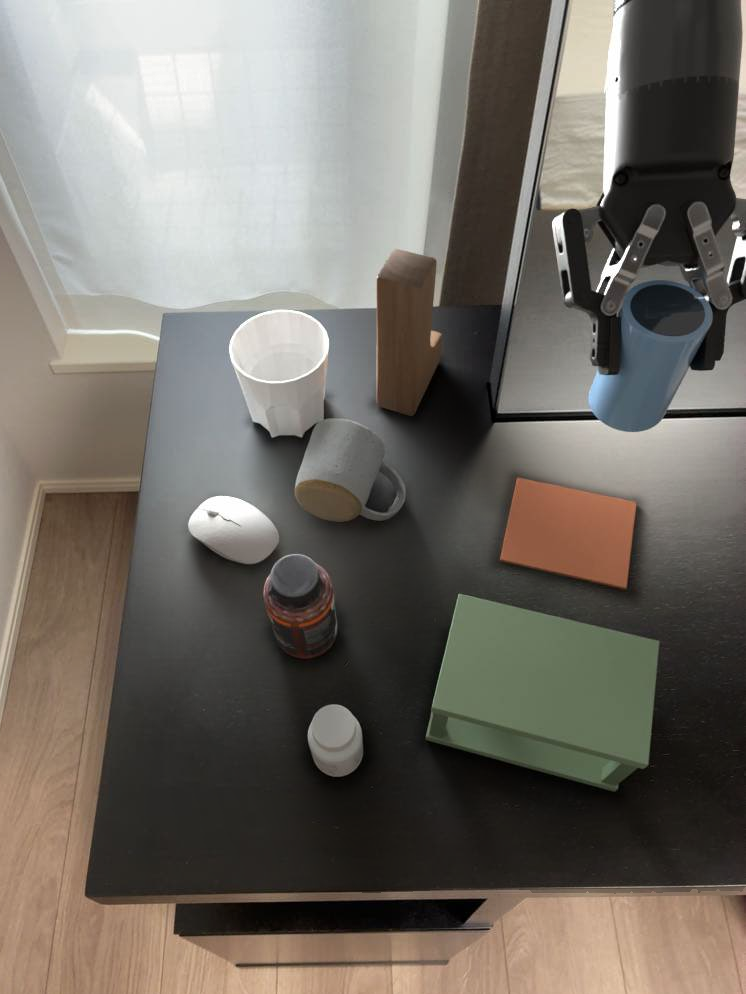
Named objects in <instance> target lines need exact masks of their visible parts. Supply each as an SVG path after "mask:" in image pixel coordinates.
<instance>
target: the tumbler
mask: <svg viewBox="0 0 746 994" xmlns="http://www.w3.org/2000/svg"><path fill="white" fill-rule="evenodd" d="M617 317H621V344H620V367H619V373H618V374H617V375H600V374H599V371H598V368H597V370H596V372H595V375H594V377H593V381H592V383H591V386H590V389H589V392H588V397H587V398H588V399H587V400H588V405H589V408H590V410H591V412H592V413H593V415H594V416H595V417H596V418H597V419H598V420H599V421H600V422H601V423H602V424H604V425H605V426H607V427H609V428H611V429H614V430H617V431H621V432H625V433H639V432H644V431H648V430H650V429H652V428H654V427H656V426H657V425H658V424H659V423H661V421H662V420H663V418H664V417H665V415H666V413H667V412H668V409H669V408H670V405H671V403H672V401H673V400H674V398H675V396H676V394H677V391H678V390H679V388H680V386H681V384H682V382H683V380H684V378H685V376H686V374H687V373H688V370H689V368H690V365H691V363H692V361H693V359H694V357H695V355H696V353H697V351H698V349H699V347H700V345H701V343H702V342H703V340H704V338H705V336H706V334H707V332H708V330H709V328H710V326H711V323H712V319H713V313H712V309H711V307H710V305H709V303H708V301H707V300H706V299H705V298H704V297H703V296H702V295H701V294H700V293H699V292H697V291H696V290H694V289H693V288H691V287H690V285H687V284H685V283H683V282H682V283H681V282H678V281H673V280H668V279H652V280H647V281H644V282H640V283H638V284H636V285H634V286H633V287H632V288H629V289H628V291H627V293H626V295H625V297H624V299H623V302H622V304H621V306H620V308H619V310H618V312H617Z"/></svg>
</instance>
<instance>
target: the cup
mask: <svg viewBox="0 0 746 994" xmlns="http://www.w3.org/2000/svg"><path fill="white" fill-rule="evenodd" d="M329 347H330V339H329V335H328V332H327V330H326V329H325V327H324V326H323V325H322V324H321V322H319V321H318V320H317V319H316V318H314V317H313V316H311V315H308V314H306V313H304V312H301V311H296V310H292V309H291V310H290V309H274V310H269V311H265V312H262V313H259V314H256V315H255V316H252V317H250V318H248V319H247V320H246V321H244V322H243V323H242V324H240V326H238V328H237V329H236V330H235V331H234V333H233V335H232V337H231V339H230V341H229V348H228V351H229V352H228V353H229V356H230V361H231V364H232V366H233V369H234V372H235V375H236V377H237V380H238V383H239V386H240V388H241V391H242V394H243V398H244V400H245V403H246V406H247V409H248V413H249V415H250V419H251V421H252V422H254V423H257V424H260V425H261V426H262V427H263V428H265V429H266V430H267V431H268V432H269V435H270V437H271V438H272V439H273V438H276V437H278V436H295V437H299V438H301V439H303V437H304V434H305V432H307V431H308V430H309V429H310V428H312V427H313V426H314V425H317V424H318V423H319V422H321V421H323V420H325V415H324V414H325V399H326V382H327V372H328V361H329Z"/></svg>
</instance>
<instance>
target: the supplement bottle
mask: <svg viewBox="0 0 746 994" xmlns="http://www.w3.org/2000/svg"><path fill="white" fill-rule="evenodd" d="M330 577H331V576H329V574H328V571H326V570H325V569H324V568H323V567H322V566H321V565H319V564H318V563H316V562H315V561H314V560H313V559H312V558H310V557H308V556H306V555H305V554H299V553H293V554H287V555H285V556H282V557H281V558H279V559H278V560H277V561H276V562H275V563H274V564H273V567H272V568H271V571H270V574H269V575H268V577H267V578H266V580H265V582H264V587H263V601H264V605H265V609H266V612H267V615H268V619H269V622H270V625H271V628H272V631H273V634H274V637H275V639H276V642H277V644H278V646H279V647H280V648H281V649H282V650H283V651H284V652H285V653H286V654H287V655H289V656H291V657H293V658H296V659H297V658H298V659H313V658H316V657H319V656H321V655H322V654H324V653H326V652H327V651H328V650H329V649H330V648H331V647H332V646H333V644H334V642H335V640H336V638H337V634H338V618H337V609H336V601H335V595H334V593H335V592H334V587H333V582H332V580H331V578H330Z"/></svg>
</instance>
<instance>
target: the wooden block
mask: <svg viewBox="0 0 746 994" xmlns="http://www.w3.org/2000/svg"><path fill="white" fill-rule="evenodd" d="M437 263H438V261H437V258H435V257H433V256H427V255H423V254H420V253H415V252H412V251H408V250H403V249H401V248H392V250H391V251H390V253H389V255H388V256H387V258H386V260H385V262H384V264H383V265H382V267H381V269H380V271H379V272H378V274H377V276H376V376H375V377H376V405H377V406H378V407H380V408H383V409H387V410H389V411H394V412H397V413H399V414H403V415H406V416H410V417H411V416H414V415H415V414H416V412H417V410H418V407H419V406H420V403H421V401H422V399H423V396H424V395H425V392H426V391H427V389H428V386H429V384H430V382H431V380H432V377H433V376H434V375H435V372H436V370H437V367H438V365H439V364H440V359H441V350H442V341H443V336H442V333H440V332H438V331H435V330H432V324H433V313H434V301H435V300H434V299H435V290H436V289H435V287H436V278H437V277H436V275H437V265H438V264H437Z"/></svg>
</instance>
